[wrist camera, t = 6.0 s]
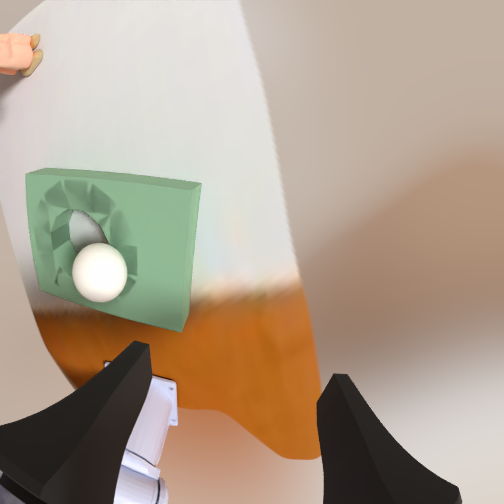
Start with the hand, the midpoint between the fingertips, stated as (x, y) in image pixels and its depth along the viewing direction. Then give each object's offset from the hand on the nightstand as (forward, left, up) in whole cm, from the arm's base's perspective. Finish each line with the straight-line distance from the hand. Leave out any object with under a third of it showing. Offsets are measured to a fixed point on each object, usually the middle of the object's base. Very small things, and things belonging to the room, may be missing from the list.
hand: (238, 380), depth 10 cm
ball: (0, +9, -6) cm, 11 cm away
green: (0, +10, -10) cm, 14 cm away
